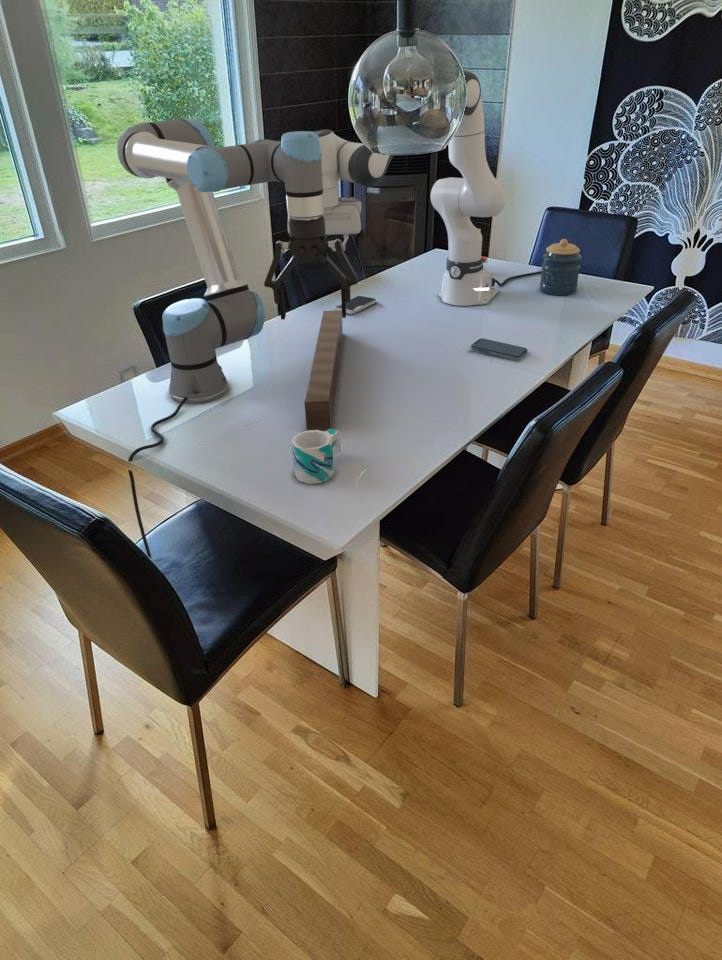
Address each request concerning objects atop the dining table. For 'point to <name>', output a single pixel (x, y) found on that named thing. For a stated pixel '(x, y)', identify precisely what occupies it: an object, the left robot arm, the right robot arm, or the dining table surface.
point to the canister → (560, 269)
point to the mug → (315, 455)
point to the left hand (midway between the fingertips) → (313, 316)
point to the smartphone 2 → (499, 349)
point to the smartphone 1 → (356, 304)
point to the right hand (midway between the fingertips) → (326, 250)
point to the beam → (324, 373)
